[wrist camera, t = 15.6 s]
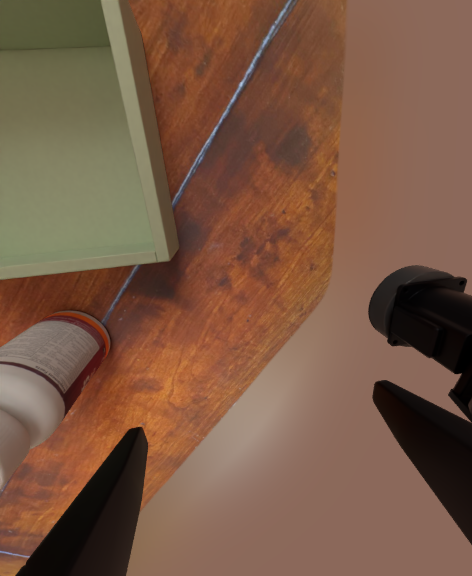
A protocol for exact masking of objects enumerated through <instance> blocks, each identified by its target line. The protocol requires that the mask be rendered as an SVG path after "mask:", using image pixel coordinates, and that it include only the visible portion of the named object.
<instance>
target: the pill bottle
mask: <svg viewBox="0 0 472 576" xmlns="http://www.w3.org/2000/svg"><path fill="white" fill-rule="evenodd" d="M109 349H110V337H109V334H108V332H107V330H106V329H105V327H104V326H103V325H102V324H101V323H100V322H99V321H98V320H97V319H95V318H94V317H92V316H90V315H88V314H86V313H83V312H79V311H70V310H69V311H59V312H56V313H53V314H51V315H49V316H47V317H45V318H43V319H42V320H40V321H39V322H38V323H36V324H35V325H33V326H32V327H30V328H29V329H27V330H26V331H24V332H23V333H21V334H20V335H18V336H17V337H15V338H14V339H12V340H11V341H9V342H8V343H6V344H5V345H3V346H2V347H0V490H1V489H2V488H3V486H4V485H5V484H6V482H7V481H8V480H9V478H10V477H11V476H12V474H13V473H14V472H15V470H16V469H17V468H18V466H19V465H20V464H21V463H22V462H23V460H24V459H25V457H26V456H27V454H28V452H29V450H30V449H32V448H34V447H36V446H38V445H39V444H41V443H43V442H44V441H45V440H46V439H48V438H49V437H50V436H51V435H52V434H53V433H54V431H55V430H56V429H57V427H58V426H59V425H60V423H61V422H62V421H63V419H64V418H65V416H66V414H67V413H68V411H69V410H70V408H71V407H72V405H73V404H74V402H75V401H76V400H77V398H78V396H79V395H80V394H81V392H82V391H83V389H84V388H85V387H86V385H87V384H88V382H89V381H90V379H91V378H92V377H93V375H94V374H95V372H96V371H97V369H98V368H99V367H100V365H101V364H102V362H103V361H104V359H105V358H106V356H107V354H108V352H109Z"/></svg>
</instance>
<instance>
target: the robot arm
mask: <svg viewBox="0 0 472 576" xmlns="http://www.w3.org/2000/svg"><path fill="white" fill-rule="evenodd" d="M466 283H467V279H466V278H463V277H451V278H443V279H435V280H428V281H420V282H412V283H404V284H401V285H399V286H398V288H397V291H396V297H395V302H394V307H393V313H392V318H391V324H390V329H389V334H388V340H387V342H388V343H389V344H390V345H391V346H399V345H406V344H409V345H410V346H412V347H413V348H415V349H416V350H418V351H419V352H421V353H422V354H423V355H425V356H426V357H428V358H433V359H434V360H435V361H437V362H438V363H440V364H441V365H443V366H444V367H445V368H447V369H448V370H450V371H451V372H453V373H454V374H461V373H462V374H461V376H460V378H459V380H458V381H457V383H456V385H455V387H454V388H453V389H451V390H450V392H449V394H448V396H449V397H450V398H451V399H452V400H453V401H454V403H455V404H456V405H457V406H458V407H459V408H460V410H461V411H462V412H463V413H464V414H465V415H466V416H467V418H468V419H469V420H470V421H471V422H472V296H471V295H468V294H465V293H464V290H465V286H466ZM404 288H405V289H404ZM403 289H404V290H403ZM373 402H374V404H375V405H376V407H377V409H378V410H379V412H380V414H381V415H382V417H383V419H384V420H385V422H386V424H387V425H388V427H389V428H390V430H391V432H392V433H393V435H394V437H395V438H396V440H397V441H398V443H399V445H400V446H401V448H402V449H403V450H404V452H405V453H406V455H407V456H408V457H409V459H410V460H411V461H412V463H413V464H414V466H415V467H416V468H417V470H418V471H419V473H420V474H421V475H422V477H423V478H424V479H425V481H426V482H427V484H428V485H429V486H430V488H431V489H432V490H433V492H434V493H435V495H436V496H437V497H438V499H439V500H440V502H441V503H442V504H443V506H444V507H445V509H446V510H447V511H448V513H449V514H450V516H451V517H452V518H453V520H454V521H455V522H456V524H457V525H458V527H459V528H460V529H461V531H462V532H463V534H464V535H465V536H466V538H467V539H468V540H469V542H470V543H471V545H472V423H470V422H468V421H467V420H465V419H463V418H461V417H459V416H457V415H455V414H453V413H451V412H449V411H447V410H445V409H443V408H441V407H439V406H437V405H435V404H433V403H431V402H429V401H427V400H425V399H423V398H421V397H419V396H417V395H415V394H413V393H411V392H409V391H407V390H405V389H403V388H401V387H399V386H397V385H395V384H393V383H391V382H389V381H387V380H382V381H377V382H375V384H374V390H373ZM147 452H148V442H147V439H146V436H145V433H144V430H143V428H142V427H136V428H131V429H129V430H128V431H127V433H126V434H125V435H124V436H123V438H122V439H121V440H120V442H119V443H118V444H117V445H116V447H115V448H114V449H113V451H112V452H111V453H110V454H109V456H108V457H107V458H106V460H105V461H104V462H103V464H102V465H101V466H100V467H99V469H98V470H97V471H96V473H95V474H94V475H93V476H92V478H91V479H90V480H89V482H88V483H87V484H86V485H85V487H84V488H83V489H82V491H81V492H80V493H79V494H78V496H77V497H76V498H75V500H74V501H73V502H72V503H71V505H70V506H69V507H68V509H67V510H66V511H65V512H64V514H63V515H62V516H61V518H60V519H59V520H58V521H57V523H56V524H55V525H54V527H53V528H52V529H51V531H50V532H49V533H48V534H47V536H46V537H45V538H44V540H43V541H42V542H41V543H40V545H39V546H38V547H37V549H36V550H35V551H34V552H33V554H32V555H31V556H30V558H29V559H28V560H27V562H26V565H24V566H23V567H22V568H21V569H20V570H19V572H18V573H17V574H16V575H15V576H126V573H127V568H128V563H129V559H130V554H131V549H132V544H133V540H134V534H135V530H136V526H137V521H138V516H139V511H140V506H141V501H142V494H143V486H144V477H145V469H146V461H147Z"/></svg>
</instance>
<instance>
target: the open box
mask: <svg viewBox="0 0 472 576" xmlns="http://www.w3.org/2000/svg"><path fill="white" fill-rule="evenodd" d="M178 249H179V242H178V237H177V231H176V226H175V220H174V214H173V209H172V203H171V198H170V192H169V186H168V181H167V175H166V170H165V164H164V158H163V153H162V147H161V142H160V136H159V130H158V125H157V119H156V114H155V108H154V102H153V97H152V91H151V86H150V80H149V74H148V69H147V63H146V58H145V52H144V46H143V41H142V35H141V32H140V29H139V27H138V25H137V22H136V20H135V17H134V15H133V12H132V10H131V7H130V5H129V2H128V0H0V280H4V279H13V278H22V277H31V276H40V275H49V274H58V273H67V272H77V271H86V270H95V269H104V268H113V267H122V266H131V265H140V264H149V263H157V262H167V261H170V260H171V259H172V257H173V256H174V255H175V253H176V252H177V250H178Z"/></svg>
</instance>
